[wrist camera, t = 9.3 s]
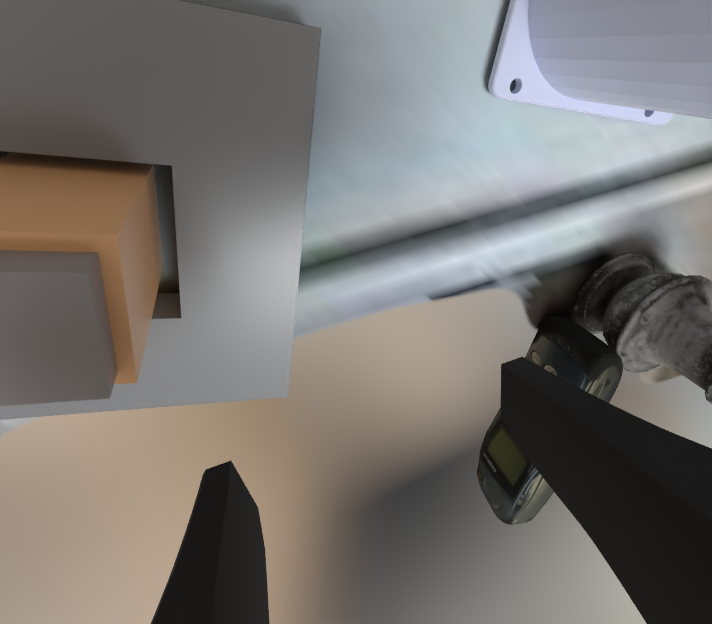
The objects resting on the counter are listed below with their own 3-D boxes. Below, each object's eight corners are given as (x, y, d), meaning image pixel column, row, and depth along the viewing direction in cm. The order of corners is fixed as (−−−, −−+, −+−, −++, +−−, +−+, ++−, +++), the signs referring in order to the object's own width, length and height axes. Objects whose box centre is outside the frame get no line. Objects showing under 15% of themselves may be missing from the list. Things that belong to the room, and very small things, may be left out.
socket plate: (308, 30, 14) (321, 28, 12) (282, 369, 21) (288, 396, 19) (-306, -90, 10) (-412, -119, 8) (-83, 390, 16) (-115, 428, 15)
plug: (154, 162, 15) (108, 254, 8) (162, 267, 17) (131, 410, 10) (15, 150, 13) (-172, 247, 7) (41, 265, 15) (-83, 427, 9)
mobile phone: (600, 360, 20) (495, 555, 27) (645, 359, 21) (534, 547, 28) (533, 309, 24) (458, 489, 31) (574, 310, 25) (492, 484, 32)
